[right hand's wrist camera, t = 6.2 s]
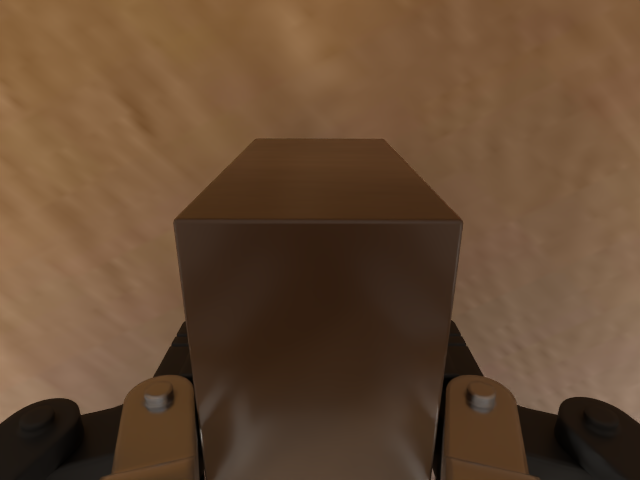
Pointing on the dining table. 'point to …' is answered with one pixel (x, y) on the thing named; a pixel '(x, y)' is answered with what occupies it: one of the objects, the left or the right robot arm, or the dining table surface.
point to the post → (318, 312)
